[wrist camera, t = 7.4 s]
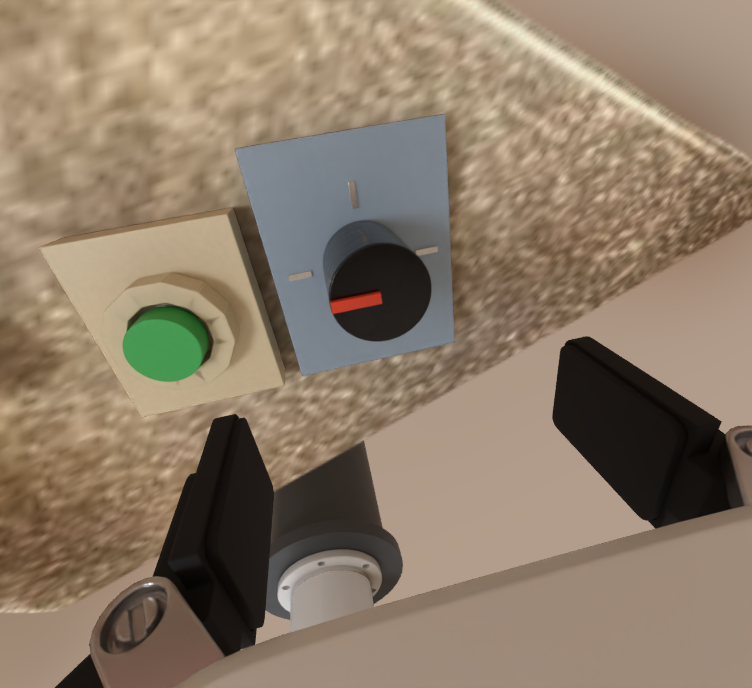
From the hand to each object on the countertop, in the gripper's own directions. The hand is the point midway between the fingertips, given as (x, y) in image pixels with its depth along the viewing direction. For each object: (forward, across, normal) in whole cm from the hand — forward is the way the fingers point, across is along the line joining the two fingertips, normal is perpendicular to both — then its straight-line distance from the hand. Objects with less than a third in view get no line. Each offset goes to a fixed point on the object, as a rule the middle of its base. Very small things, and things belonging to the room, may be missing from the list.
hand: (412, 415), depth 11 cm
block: (+17, +11, +1) cm, 20 cm away
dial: (+14, -1, -1) cm, 14 cm away
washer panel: (+17, -1, -1) cm, 17 cm away
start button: (+13, +11, +1) cm, 17 cm away
